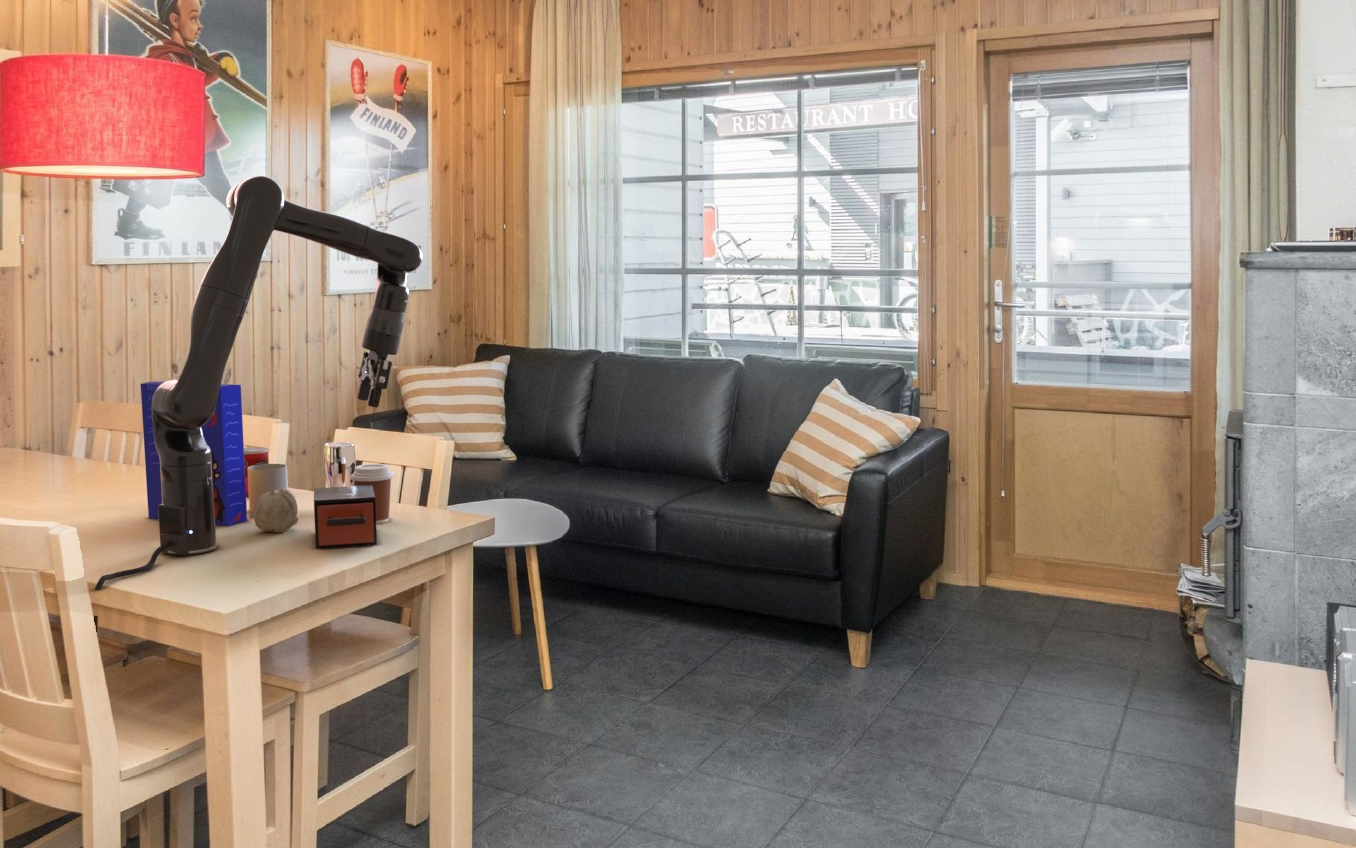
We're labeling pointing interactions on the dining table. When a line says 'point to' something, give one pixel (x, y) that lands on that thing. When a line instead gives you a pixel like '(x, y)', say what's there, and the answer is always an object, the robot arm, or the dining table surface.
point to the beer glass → (339, 463)
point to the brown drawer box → (345, 523)
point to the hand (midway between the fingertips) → (367, 403)
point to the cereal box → (225, 450)
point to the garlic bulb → (275, 511)
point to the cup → (265, 480)
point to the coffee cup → (376, 486)
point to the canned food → (254, 460)
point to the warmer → (344, 496)
